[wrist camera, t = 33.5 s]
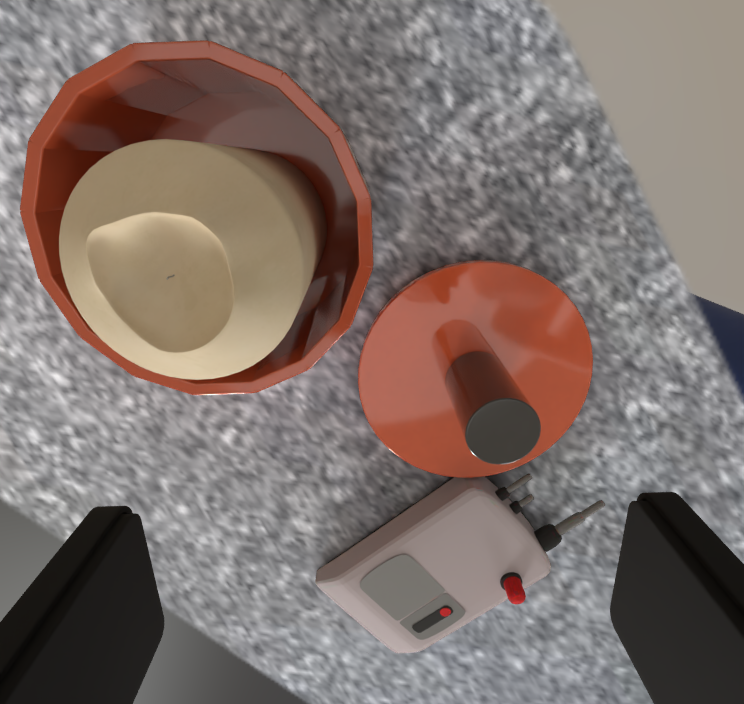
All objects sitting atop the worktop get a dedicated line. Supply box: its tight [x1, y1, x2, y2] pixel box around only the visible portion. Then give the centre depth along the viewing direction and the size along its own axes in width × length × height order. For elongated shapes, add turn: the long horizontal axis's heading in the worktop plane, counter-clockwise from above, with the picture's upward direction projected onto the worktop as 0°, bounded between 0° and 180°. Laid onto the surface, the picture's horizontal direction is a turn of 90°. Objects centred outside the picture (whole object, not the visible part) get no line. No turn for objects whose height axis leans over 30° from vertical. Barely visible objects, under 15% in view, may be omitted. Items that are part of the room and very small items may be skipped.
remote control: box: [316, 474, 605, 654], centre depth 24 cm, size 7×16×3 cm, turn 130°
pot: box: [20, 40, 373, 395], centre depth 17 cm, size 9×9×6 cm
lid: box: [358, 260, 593, 478], centre depth 20 cm, size 10×10×6 cm
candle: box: [59, 139, 327, 380], centre depth 15 cm, size 6×6×10 cm
